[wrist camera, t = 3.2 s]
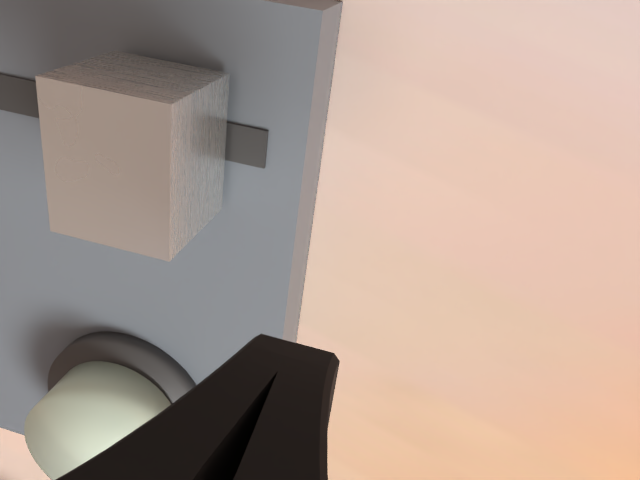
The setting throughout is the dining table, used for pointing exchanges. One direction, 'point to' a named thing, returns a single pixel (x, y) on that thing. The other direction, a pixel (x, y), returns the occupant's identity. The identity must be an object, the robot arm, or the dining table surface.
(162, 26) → the control panel
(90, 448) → the sage button
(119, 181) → the slider knob
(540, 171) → the dining table surface
